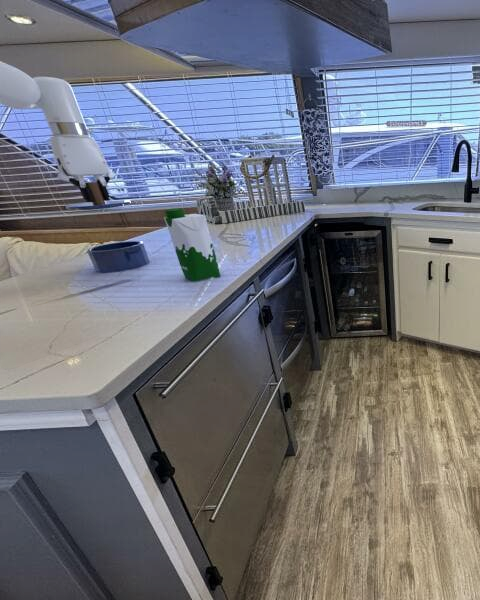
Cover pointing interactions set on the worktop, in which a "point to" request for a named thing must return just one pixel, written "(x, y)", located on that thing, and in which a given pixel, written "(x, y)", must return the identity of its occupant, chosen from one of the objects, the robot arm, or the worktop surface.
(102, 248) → the pot
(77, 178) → the robot arm
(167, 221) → the milk carton
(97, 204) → the plate lid
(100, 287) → the worktop surface
